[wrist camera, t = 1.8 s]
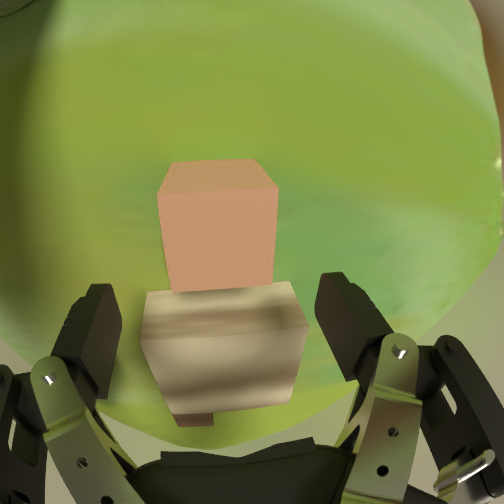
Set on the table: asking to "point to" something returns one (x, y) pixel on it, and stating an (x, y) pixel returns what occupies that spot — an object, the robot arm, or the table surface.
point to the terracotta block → (218, 224)
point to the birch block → (224, 346)
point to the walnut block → (194, 419)
